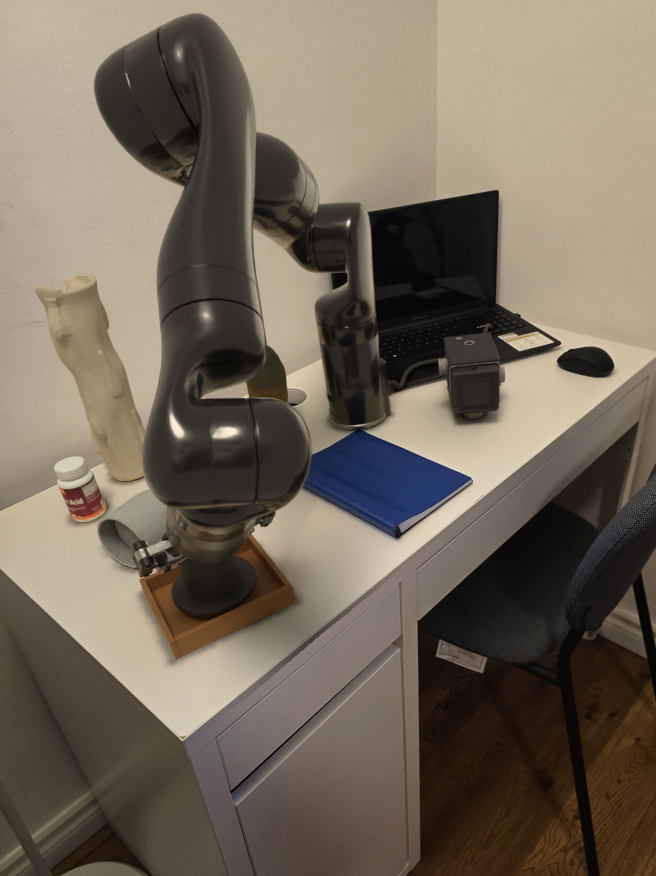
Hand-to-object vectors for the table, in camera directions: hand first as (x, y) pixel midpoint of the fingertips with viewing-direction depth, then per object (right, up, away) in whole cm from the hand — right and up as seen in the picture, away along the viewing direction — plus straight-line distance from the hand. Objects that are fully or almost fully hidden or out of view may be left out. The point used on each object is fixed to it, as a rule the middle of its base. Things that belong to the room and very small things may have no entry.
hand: (201, 547), depth 72 cm
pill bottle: (-21, +3, +21) cm, 30 cm away
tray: (+1, -6, +4) cm, 7 cm away
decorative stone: (+3, +16, +36) cm, 40 cm away
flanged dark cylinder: (+1, -6, +4) cm, 7 cm away
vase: (-19, +10, +30) cm, 37 cm away
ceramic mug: (-11, -1, +13) cm, 17 cm away
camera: (+35, +20, +36) cm, 54 cm away
